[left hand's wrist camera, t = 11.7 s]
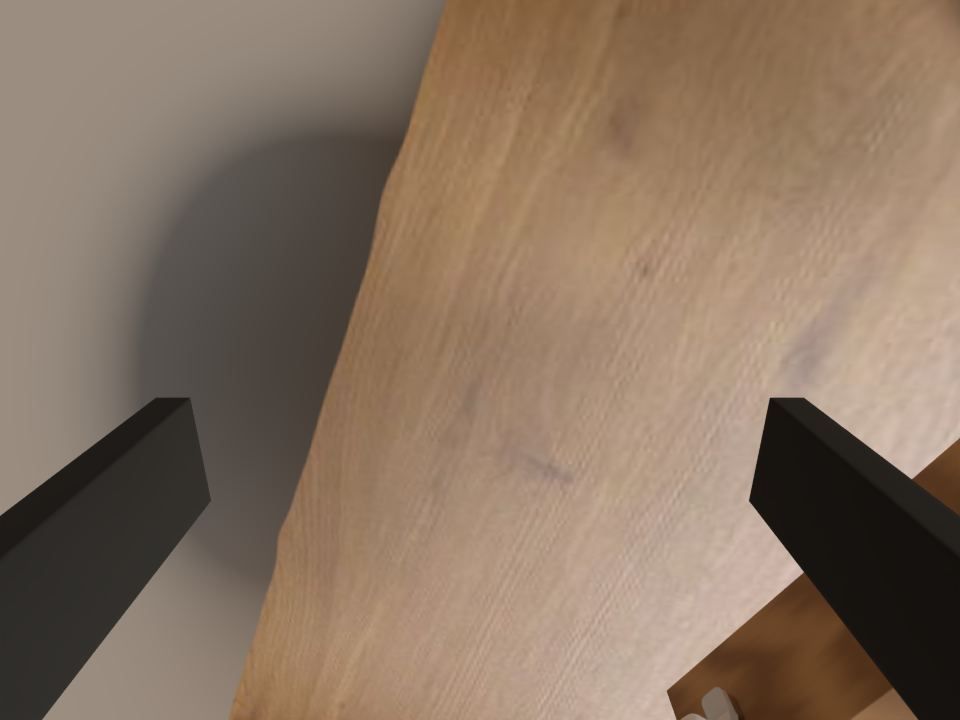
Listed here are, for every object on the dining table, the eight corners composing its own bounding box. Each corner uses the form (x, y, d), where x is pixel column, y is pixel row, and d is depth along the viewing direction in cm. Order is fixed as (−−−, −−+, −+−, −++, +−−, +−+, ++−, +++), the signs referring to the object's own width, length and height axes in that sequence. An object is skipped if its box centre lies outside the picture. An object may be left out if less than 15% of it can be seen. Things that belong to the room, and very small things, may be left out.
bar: (982, 418, 33) (1143, 502, 25) (1033, 461, 34) (1204, 555, 26) (666, 690, 41) (711, 821, 33) (715, 719, 42) (771, 852, 34)
